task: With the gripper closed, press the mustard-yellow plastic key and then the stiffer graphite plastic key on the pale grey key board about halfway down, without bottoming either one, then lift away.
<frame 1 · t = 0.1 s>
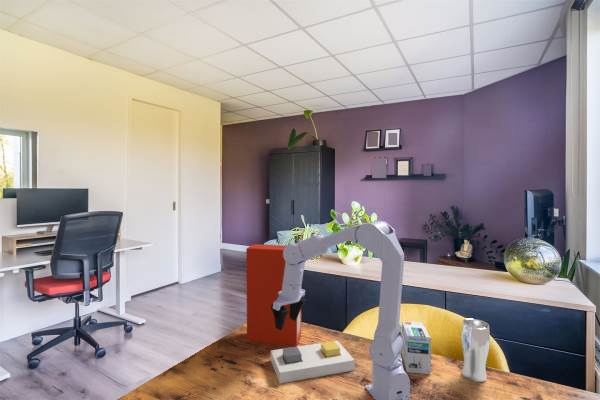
hand: (286, 324, 98), 11 cm above the table, tool pointing down, fingers open, 7 cm apart
light bulb box: (415, 364, 96), on the table
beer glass: (474, 376, 90), on the table
key board: (311, 365, 95), on the table
file binder: (274, 339, 111), on the table
graphite key: (291, 356, 93), point 4 cm above the table, slide at 0.0 cm
mustard key: (330, 350, 96), point 4 cm above the table, slide at 0.0 cm
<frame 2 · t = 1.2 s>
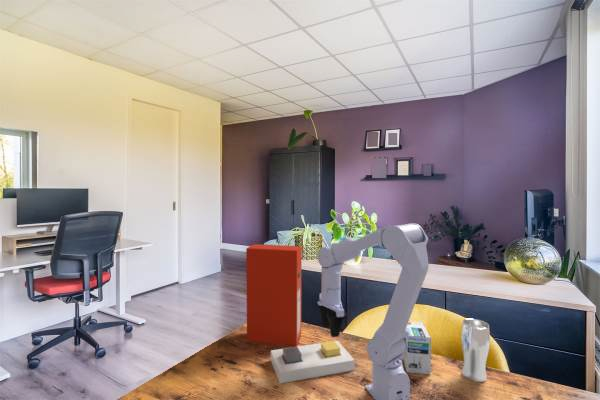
hand: (330, 331, 96), 9 cm above the table, tool pointing down, fingers open, 6 cm apart
nothing on the table moved.
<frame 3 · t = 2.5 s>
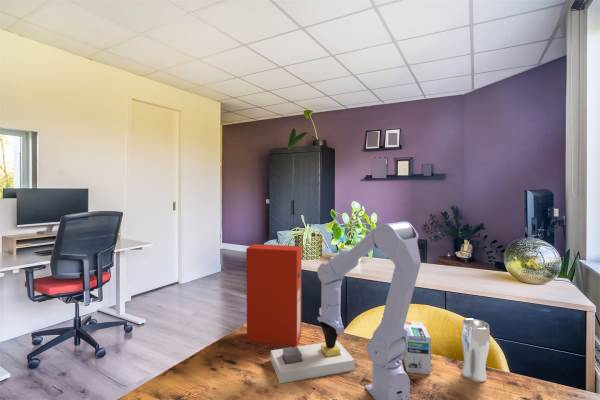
hand: (330, 346, 96), 5 cm above the table, tool pointing down, fingers closed, pressing on mustard key
mustard key: (330, 351, 96), point 3 cm above the table, slide at 0.4 cm, touching gripper
everything else where it was.
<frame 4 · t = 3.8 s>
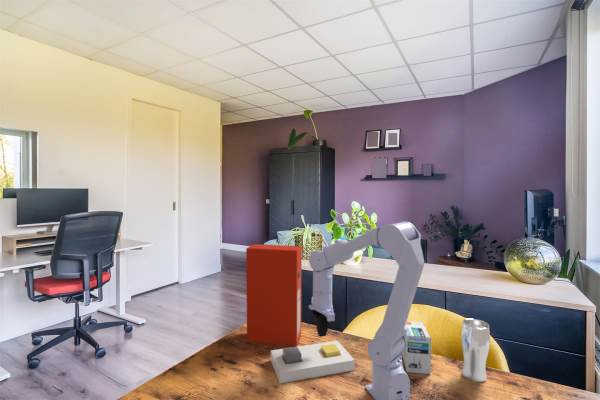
hand: (321, 335, 95), 8 cm above the table, tool pointing down, fingers closed
mustard key: (330, 353, 96), point 3 cm above the table, slide at 0.8 cm
everything else where it was.
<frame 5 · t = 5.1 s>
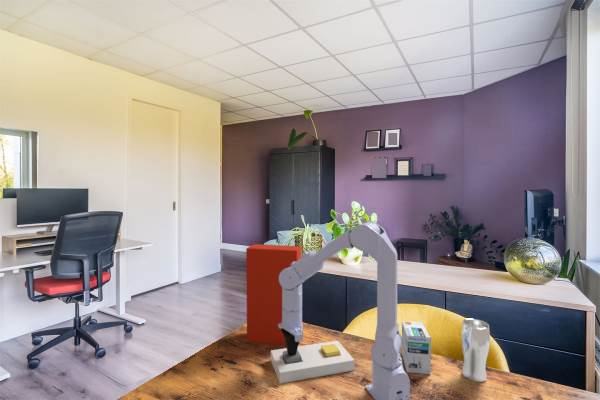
hand: (291, 354, 93), 4 cm above the table, tool pointing down, fingers closed, pressing on graphite key
graphite key: (291, 359, 93), point 3 cm above the table, slide at 0.8 cm, touching gripper
everything else where it was.
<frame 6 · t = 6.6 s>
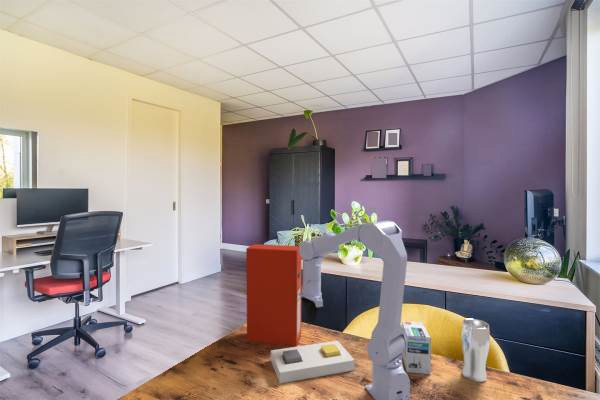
hand: (311, 321, 100), 10 cm above the table, tool pointing down, fingers closed
graphite key: (291, 359, 93), point 3 cm above the table, slide at 0.8 cm
everything else where it was.
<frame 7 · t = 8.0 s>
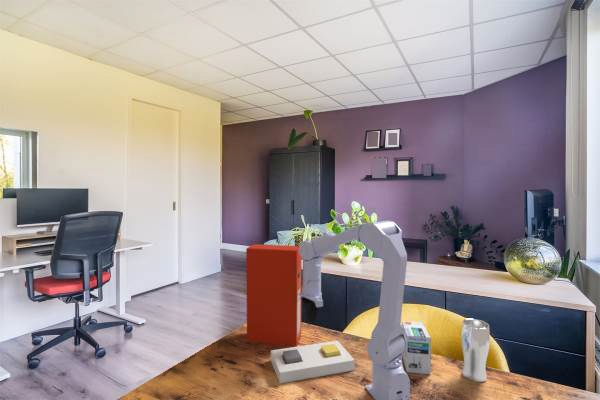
hand: (311, 321, 100), 10 cm above the table, tool pointing down, fingers closed
nothing on the table moved.
at the end: mustard key slide at 0.8 cm; graphite key slide at 0.8 cm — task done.
